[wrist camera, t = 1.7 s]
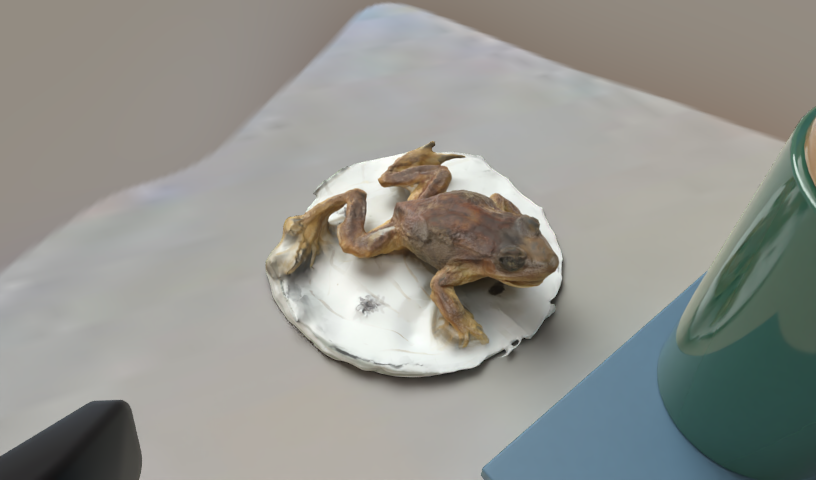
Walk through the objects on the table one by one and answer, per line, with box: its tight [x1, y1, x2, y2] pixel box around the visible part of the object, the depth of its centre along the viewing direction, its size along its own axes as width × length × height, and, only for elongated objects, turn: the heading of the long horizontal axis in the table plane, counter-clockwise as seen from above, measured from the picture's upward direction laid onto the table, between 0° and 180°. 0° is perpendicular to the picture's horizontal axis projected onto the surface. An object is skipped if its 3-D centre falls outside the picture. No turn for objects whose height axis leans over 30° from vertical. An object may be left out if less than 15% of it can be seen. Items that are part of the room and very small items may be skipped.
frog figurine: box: [266, 141, 563, 377], centre depth 26 cm, size 12×12×4 cm
